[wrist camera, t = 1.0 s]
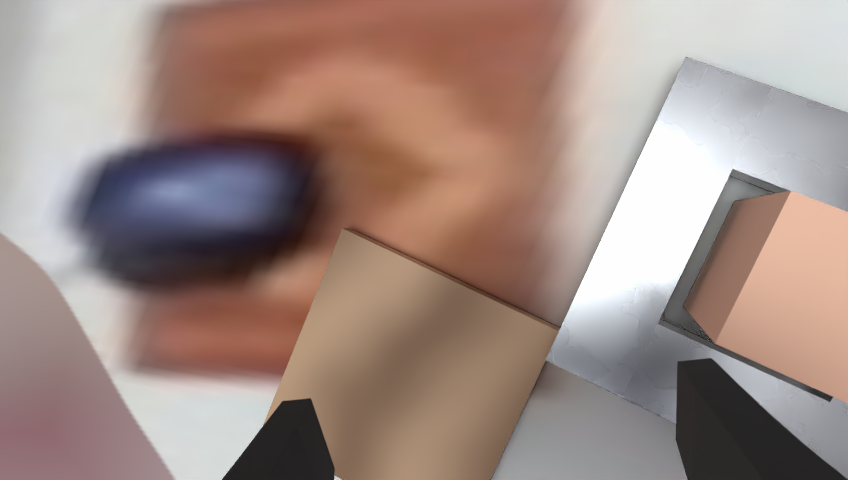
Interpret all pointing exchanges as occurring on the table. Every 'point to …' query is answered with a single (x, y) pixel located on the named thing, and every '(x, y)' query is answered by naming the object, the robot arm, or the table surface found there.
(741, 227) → the pinkish brown rectangular block
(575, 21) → the table surface
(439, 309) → the walnut pad
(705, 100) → the socket plate
